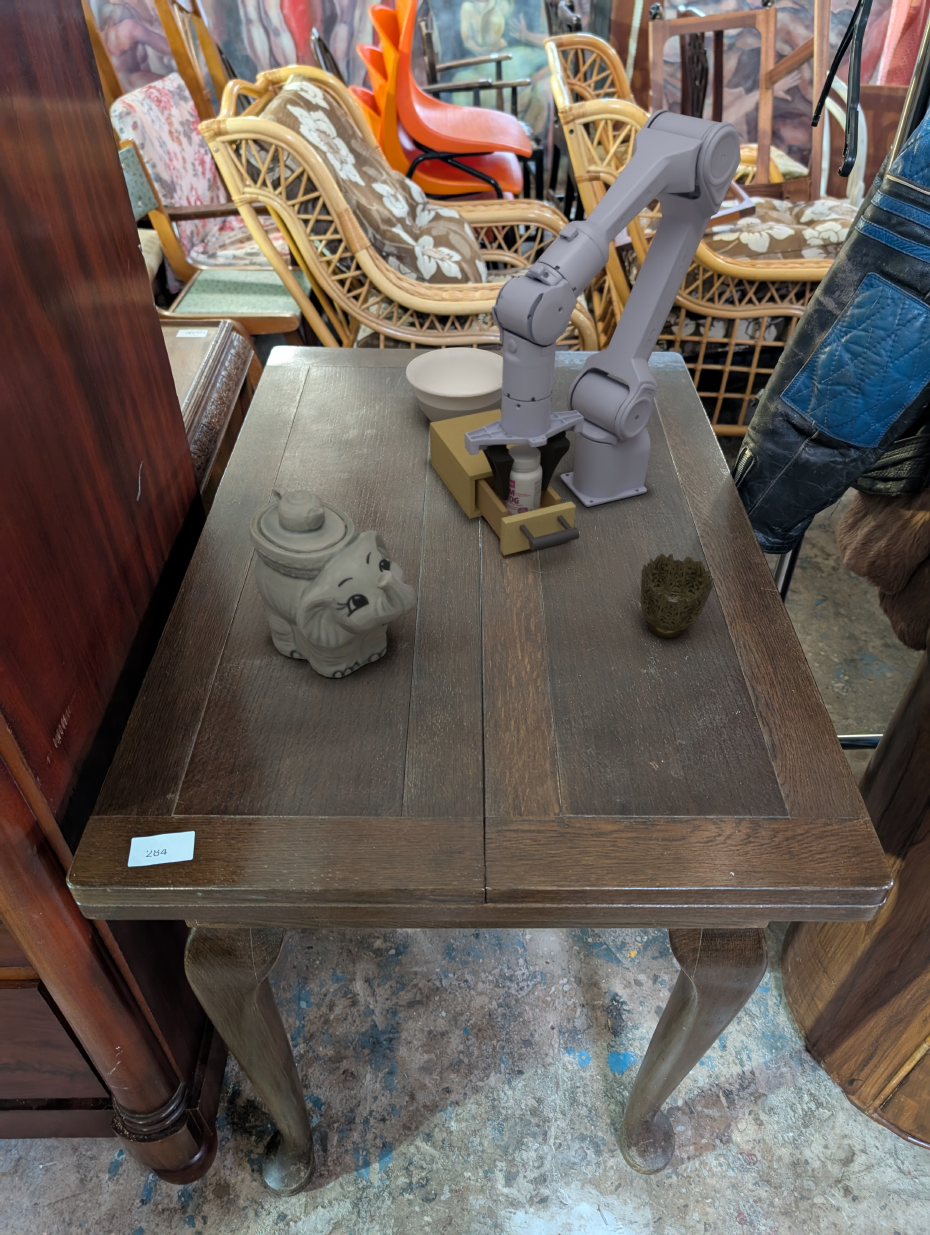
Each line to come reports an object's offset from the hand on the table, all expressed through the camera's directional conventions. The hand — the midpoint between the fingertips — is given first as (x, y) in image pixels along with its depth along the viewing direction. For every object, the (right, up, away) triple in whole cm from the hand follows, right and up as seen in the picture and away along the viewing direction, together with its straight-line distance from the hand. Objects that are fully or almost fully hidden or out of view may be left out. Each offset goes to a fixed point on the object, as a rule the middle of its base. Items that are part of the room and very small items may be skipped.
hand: (521, 491), depth 99 cm
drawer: (0, -4, +3) cm, 5 cm away
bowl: (-8, +14, +24) cm, 29 cm away
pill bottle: (0, -2, +2) cm, 3 cm away
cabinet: (-4, +3, +12) cm, 13 cm away
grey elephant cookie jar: (-20, -20, -13) cm, 31 cm away
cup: (+15, -17, -10) cm, 25 cm away
